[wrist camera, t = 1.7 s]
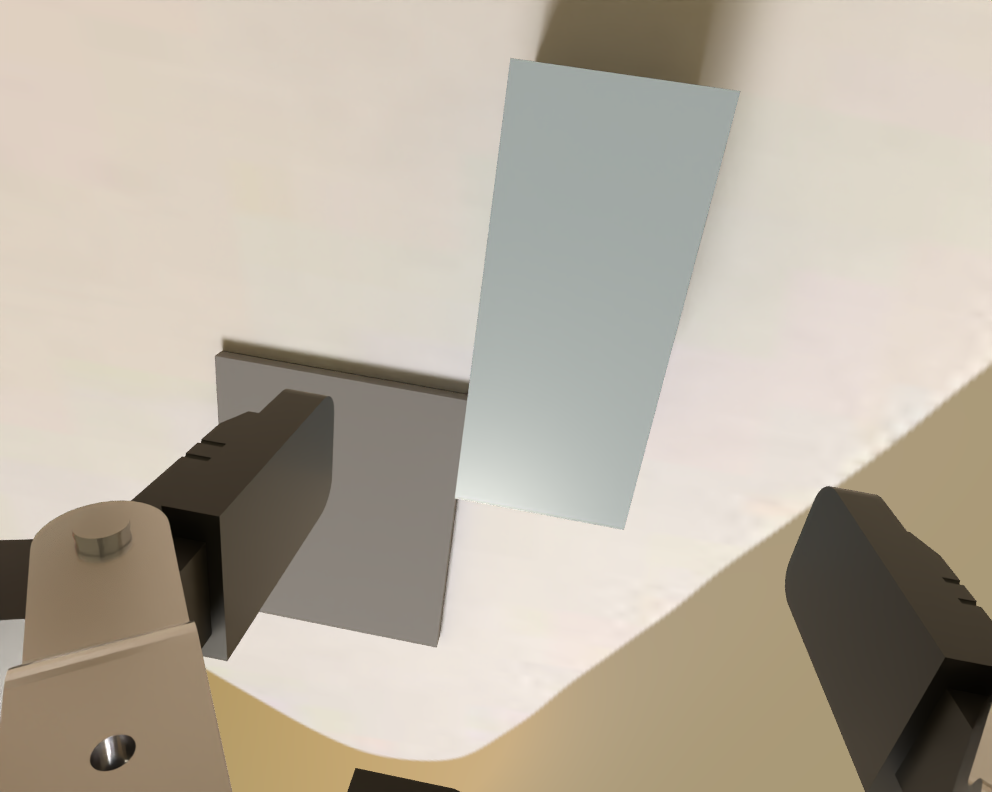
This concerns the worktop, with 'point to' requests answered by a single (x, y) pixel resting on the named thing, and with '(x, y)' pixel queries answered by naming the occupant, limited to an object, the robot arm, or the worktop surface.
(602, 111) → the cover
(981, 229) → the worktop surface
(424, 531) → the mat
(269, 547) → the robot arm
